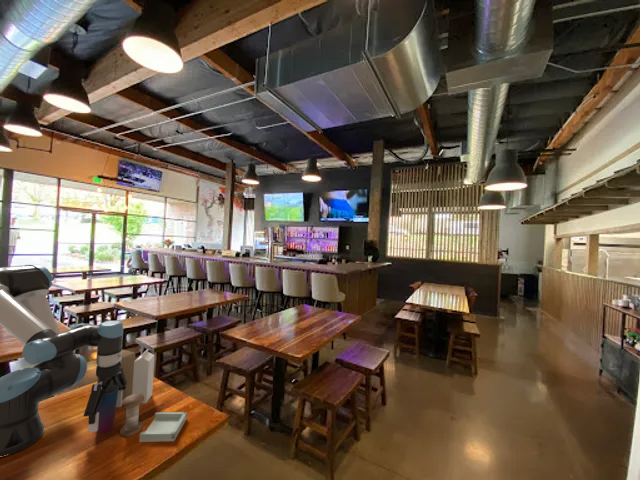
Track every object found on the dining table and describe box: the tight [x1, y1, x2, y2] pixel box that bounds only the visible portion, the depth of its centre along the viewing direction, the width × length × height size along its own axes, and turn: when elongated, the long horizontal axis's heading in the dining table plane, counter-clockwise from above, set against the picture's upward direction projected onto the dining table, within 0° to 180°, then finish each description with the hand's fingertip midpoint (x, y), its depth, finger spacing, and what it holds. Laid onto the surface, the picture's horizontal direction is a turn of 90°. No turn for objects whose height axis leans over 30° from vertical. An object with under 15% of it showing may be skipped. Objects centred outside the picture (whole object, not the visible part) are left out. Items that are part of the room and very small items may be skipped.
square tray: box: [139, 411, 188, 443], centre depth 103 cm, size 12×12×3 cm
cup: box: [96, 385, 119, 434], centre depth 101 cm, size 7×7×15 cm
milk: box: [132, 348, 155, 404], centre depth 120 cm, size 6×6×22 cm
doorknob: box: [119, 394, 144, 438], centre depth 102 cm, size 7×7×12 cm
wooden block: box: [96, 348, 136, 401], centre depth 119 cm, size 10×10×20 cm
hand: (106, 418), depth 101 cm, fingers open, 13 cm apart
